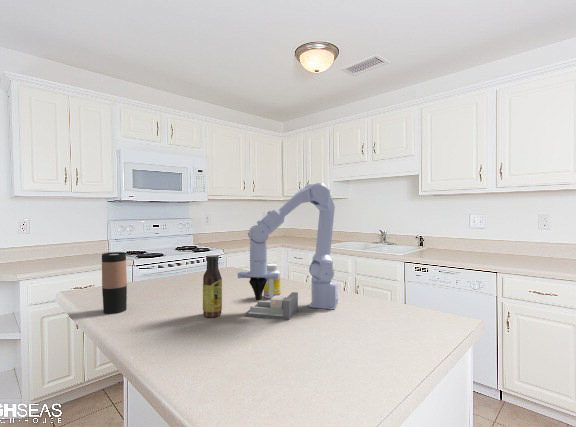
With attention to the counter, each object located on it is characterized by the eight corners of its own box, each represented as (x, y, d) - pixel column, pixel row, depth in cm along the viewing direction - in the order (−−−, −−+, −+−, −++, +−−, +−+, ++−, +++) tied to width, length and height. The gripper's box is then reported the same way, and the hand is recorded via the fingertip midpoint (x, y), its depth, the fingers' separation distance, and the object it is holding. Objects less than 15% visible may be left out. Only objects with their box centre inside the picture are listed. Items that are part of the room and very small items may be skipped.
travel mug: (97, 312, 117) (96, 254, 117) (117, 306, 124) (116, 251, 123) (112, 315, 114) (110, 255, 113) (132, 309, 121) (131, 252, 120)
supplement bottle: (281, 294, 139) (281, 263, 138) (279, 299, 132) (279, 266, 132) (265, 294, 139) (264, 263, 139) (262, 299, 133) (261, 266, 132)
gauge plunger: (286, 307, 117) (286, 296, 117) (279, 315, 110) (279, 302, 110) (275, 307, 118) (275, 295, 118) (267, 314, 111) (267, 301, 111)
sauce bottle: (217, 318, 110) (216, 257, 110) (199, 317, 111) (198, 256, 111) (225, 312, 117) (224, 254, 116) (208, 311, 118) (207, 253, 117)
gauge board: (297, 309, 119) (297, 292, 119) (289, 319, 109) (289, 301, 108) (257, 306, 123) (257, 289, 123) (245, 315, 113) (245, 297, 113)
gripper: (281, 258, 119) (282, 297, 120) (242, 257, 122) (243, 295, 123) (276, 262, 112) (276, 303, 113) (235, 260, 116) (235, 300, 116)
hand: (258, 299), depth 117 cm, fingers closed
